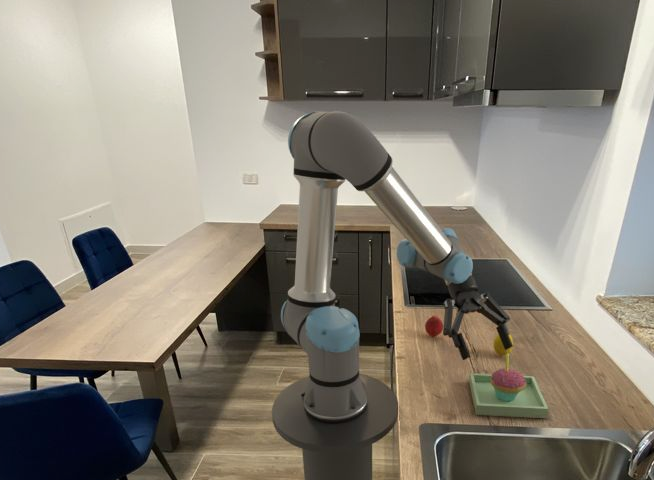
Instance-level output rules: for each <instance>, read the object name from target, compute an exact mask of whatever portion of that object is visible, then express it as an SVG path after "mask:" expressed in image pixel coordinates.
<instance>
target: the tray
mask: <svg viewBox="0 0 654 480" xmlns="http://www.w3.org/2000/svg"><path fill="white" fill-rule="evenodd" d="M492 374H493V373H472V372H471V373H470V374H469V381H468V382H469V388H470V393H471V397H472V402H473V407H474V412H475V416H493V417H509V418H511V417H512V418H515V417H516V418H529V419H548V414H549V407H548V405H547V402H546V400H545V398H544V396H543V393H542V391H541V389H540V387H539V384H538V383H537V380H536V377H534V376H533V375H523V376H524V378H525V379H526V388H525V389H524V390H522V391H521V392H519V393H518V394H517V396H516V398H515V399H514V400H513V401H502V400H500V399H498V398H497V397H496V393H495V389H494V387H493V386H492V385H491V377H492Z"/></svg>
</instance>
